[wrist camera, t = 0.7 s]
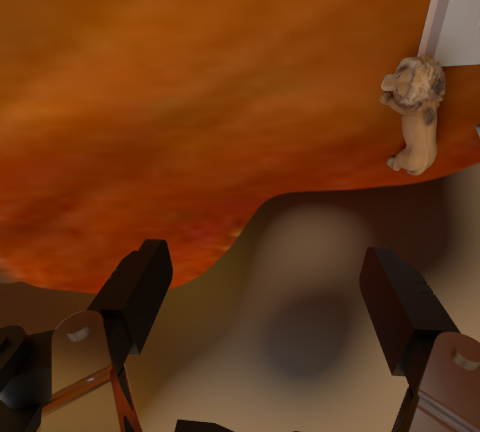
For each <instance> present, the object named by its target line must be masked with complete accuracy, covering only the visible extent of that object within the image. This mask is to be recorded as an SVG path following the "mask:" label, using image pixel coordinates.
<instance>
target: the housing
mask: <svg viewBox="0 0 480 432" xmlns="http://www.w3.org/2000/svg"><path fill="white" fill-rule="evenodd" d="M422 54H423V55H427V56H429V57H431V58H432V59H438V60H439V63H440V64H441V67H442V66H458V65H475V64H480V0H431V1H430V6H429V10H428V14H427V18H426V22H425V26H424V30H423V35H422V39H421V43H420V47H419V51H418V55H417V57H419V56H420V55H422Z"/></svg>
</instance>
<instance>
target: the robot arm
mask: <svg viewBox="0 0 480 432" xmlns="http://www.w3.org/2000/svg"><path fill="white" fill-rule="evenodd" d="M172 277H173V267H172V262H171V258H170V253H169V249H168V245H167V242H166V240H159V239H146V240H145V241H144V243H143V244H142V246H141V247H140V249H139V250H138V251H133V252H131V253H130V254H129V255H127V256H126V257H125V258H123V259H122V261H121V262H120V263H119V265H118V266H117V268H116V271H114V272H113V273H112V275H111V276H110V279H108V280H107V282H106V283H105V284H104V286H103V287H102V289H101V290H100V292H99V293H98V294H97V296H96V297H95V299H94V300H93V302H92V303H91V304H90V306H89V307H88V308H87V310H86V311H81V312H78V313H76V314H73V315H72V316H70V317H68V318H67V319H66V320H64V321H63V322H62V323H61V324H60V325H59V326H58V327H57V328H56V329H55V330H51V331H46V332H42V333H36V334H32V335H27V333H26V332H25V331H24V329H23V328H22V327H20V326H15V325H14V326H6V327H3V328H0V399H1V401H0V432H36V431H37V429H38V428H39V426H40V424H41V432H143V431H142V428H141V425H140V422H139V420H138V416H137V412H136V409H135V404H134V400H133V396H132V392H131V388H130V384H129V380H128V376H127V372H126V368H125V365H124V363H125V361H126V358H127V356H128V354H133V355H140V354H141V351H142V349H143V347H144V344H145V342H146V339H147V337H148V335H149V333H150V330H151V328H152V325H153V323H154V321H155V319H156V316H157V314H158V312H159V309H160V307H161V304H162V302H163V300H164V298H165V295H166V293H167V291H168V288H169V286H170V284H171V281H172ZM359 286H360V291H361V294H362V297H363V299H364V302H365V305H366V307H367V310H368V313H369V315H370V318H371V321H372V323H373V326H374V329H375V331H376V334H377V337H378V340H379V342H380V345H381V347H382V350H383V353H384V355H385V358H386V361H387V364H388V366H389V369H390V372H391V374H392V375H394V376H405V377H406V379H407V381H408V384H409V387H408V388H407V391H406V393H405V396H404V399H403V402H402V404H401V407H400V409H399V412H398V415H397V418H396V420H395V423H394V426H393V428H392V431H391V432H480V343H479V342H478V341H476V340H475V339H473V338H471V337H469V336H466V335H464V334H461V333H460V331H459V330H458V328H457V327H456V325H455V324H454V322H453V321H452V319H451V318H450V316H449V315H448V313H447V312H446V310H445V309H444V307H443V306H442V304H441V303H440V301H439V300H438V298H437V297H436V296H435V295H433V291H432V290H431V288H430V287H429V285H427V282H426V281H425V279H424V278H423V276H422V275H421V273H420V272H419V271H418V270H417V269H416V268H414V267H413V266H412V265H411V264H409V263H408V262H407V261H400V260H399V258H398V257H397V255H396V253H395V252H394V250H393V249H392V248H391V247H368V248H367V251H366V254H365V258H364V262H363V265H362V269H361V273H360V277H359ZM175 432H233V431H231V430H229V429H227V428H225V427H222V426H220V425H218V424H216V423H208V422H197V421H187V420H177V424H176V428H175ZM295 432H298V431H295Z"/></svg>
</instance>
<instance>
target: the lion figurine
mask: <svg viewBox="0 0 480 432" xmlns="http://www.w3.org/2000/svg"><path fill="white" fill-rule="evenodd" d="M445 86H446V79H445V71H443V68H442V67H441V64H440V63H439V60H438V59H432V58H431V57H429V56H427V55H423V54H422V55H420V56H419V57H408V58H404V59H403V60H402V61H401V62H400V65H399V66H398V67H397V70H396V72H395V73H394V74H387V75H386V76H385V77H384V79H383V81H382V84H381V88H382V89H383V90H384V91H393V96H391V94H390V93H389V92H387V93H383V95H381V97H380V99H379V101H380V102H381V103H383V104H384V105H386V106H390V107H391V108H392V109H394V110H395V111H397V112H398V113H400V114H402V118H401V121H402V132H403V136H404V139H405V142H406V148H405V149H404V150H402V151H401V152H399V153H398V154H397V155H396V157H390V158H389V159H388V160H387V165H388V166H389V167H391V168H392V169H393V170H396V171H399V170H400V168H404V169H406V171H407V172H408V173H410V174H412V175H419V174H421V173H422V172H424V171H425V169H426V168H428V167H430V166H431V165H432V163H433V162H434V160H435V158H436V155H437V145H436V128H437V108H438V107H439V106H440V102H441V101H442V100H443V96H444V94H445V91H446V89H445Z"/></svg>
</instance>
